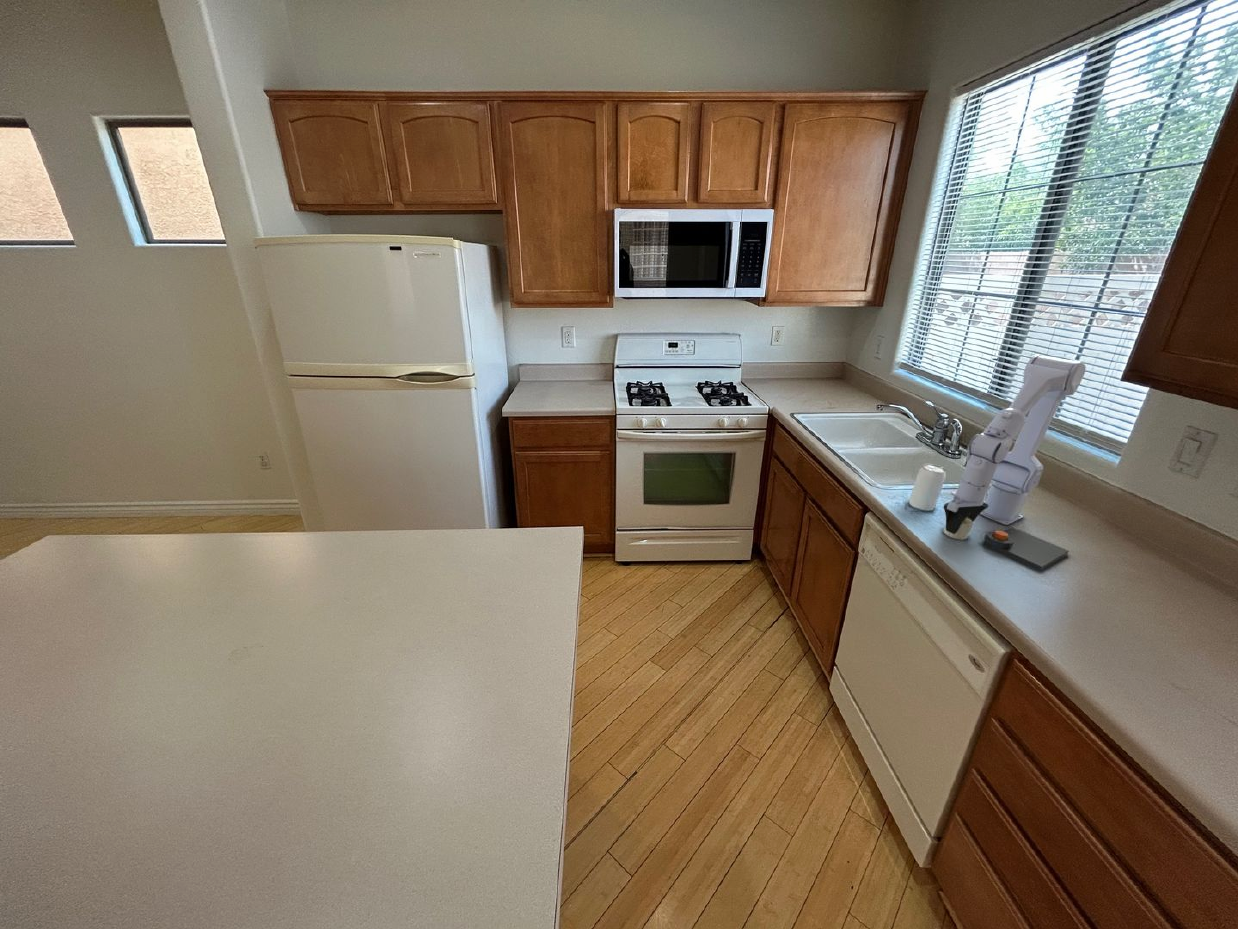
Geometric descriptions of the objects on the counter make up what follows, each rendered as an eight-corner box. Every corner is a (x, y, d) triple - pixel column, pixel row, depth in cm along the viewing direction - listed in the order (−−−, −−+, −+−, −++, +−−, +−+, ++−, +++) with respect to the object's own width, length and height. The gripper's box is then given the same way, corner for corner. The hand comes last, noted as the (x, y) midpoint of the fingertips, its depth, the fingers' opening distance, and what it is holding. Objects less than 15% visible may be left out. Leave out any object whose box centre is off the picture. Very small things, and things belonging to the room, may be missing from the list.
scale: (1007, 530, 125) (1011, 520, 124) (1066, 555, 115) (1071, 545, 114) (977, 544, 118) (981, 534, 117) (1037, 572, 108) (1043, 561, 107)
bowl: (950, 527, 126) (955, 512, 124) (971, 536, 121) (977, 521, 120) (939, 531, 123) (944, 516, 121) (960, 541, 119) (966, 526, 117)
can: (927, 501, 138) (940, 464, 133) (938, 512, 133) (952, 473, 128) (904, 499, 139) (916, 462, 134) (914, 510, 133) (927, 472, 128)
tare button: (996, 534, 118) (998, 529, 117) (1007, 539, 116) (1010, 534, 115) (990, 536, 117) (993, 531, 116) (1002, 542, 115) (1005, 536, 114)
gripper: (973, 470, 122) (956, 515, 128) (941, 480, 116) (925, 528, 122) (1004, 481, 117) (984, 527, 123) (972, 493, 110) (953, 541, 116)
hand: (957, 528), depth 122 cm, fingers open, 6 cm apart
